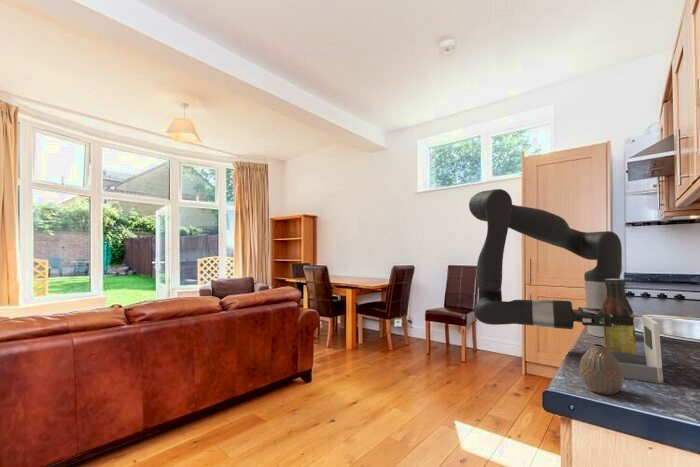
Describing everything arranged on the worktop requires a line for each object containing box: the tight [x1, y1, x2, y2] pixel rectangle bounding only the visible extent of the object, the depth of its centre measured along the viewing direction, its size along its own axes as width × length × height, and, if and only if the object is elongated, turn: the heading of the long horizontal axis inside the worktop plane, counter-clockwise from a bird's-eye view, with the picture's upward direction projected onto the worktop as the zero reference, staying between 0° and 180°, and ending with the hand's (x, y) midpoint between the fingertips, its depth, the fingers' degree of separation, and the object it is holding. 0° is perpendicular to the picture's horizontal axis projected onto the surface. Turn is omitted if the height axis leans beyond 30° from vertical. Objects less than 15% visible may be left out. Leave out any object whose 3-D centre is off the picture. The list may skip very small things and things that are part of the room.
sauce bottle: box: [602, 278, 638, 354], centre depth 85 cm, size 6×6×20 cm
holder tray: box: [610, 314, 664, 384], centre depth 76 cm, size 10×11×12 cm
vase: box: [578, 343, 625, 396], centre depth 66 cm, size 7×7×9 cm
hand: (629, 318), depth 84 cm, fingers closed on sauce bottle, 6 cm apart
